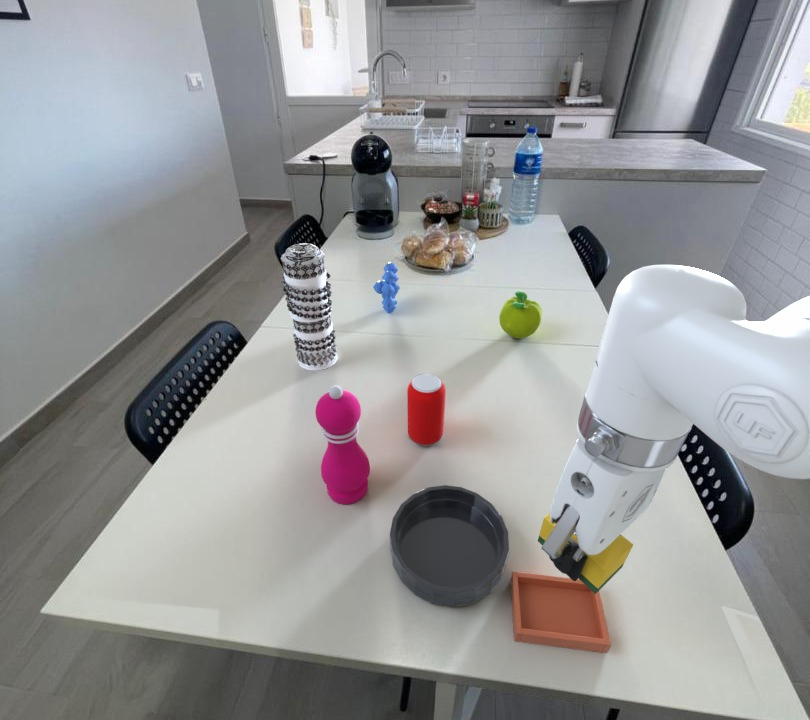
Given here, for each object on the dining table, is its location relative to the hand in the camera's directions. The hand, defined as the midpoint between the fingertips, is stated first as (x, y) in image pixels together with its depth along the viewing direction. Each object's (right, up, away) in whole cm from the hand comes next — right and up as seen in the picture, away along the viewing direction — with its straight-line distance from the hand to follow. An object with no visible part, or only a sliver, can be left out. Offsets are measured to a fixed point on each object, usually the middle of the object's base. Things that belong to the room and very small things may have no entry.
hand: (579, 552), depth 46 cm
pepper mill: (-27, 0, +23) cm, 35 cm away
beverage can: (-14, +6, +32) cm, 36 cm away
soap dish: (0, -11, +8) cm, 13 cm away
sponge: (0, 0, 0) cm, 0 cm away
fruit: (+8, +25, +58) cm, 64 cm away
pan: (-12, -6, +14) cm, 20 cm away
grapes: (-22, +33, +69) cm, 80 cm away
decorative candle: (-37, +20, +51) cm, 66 cm away
